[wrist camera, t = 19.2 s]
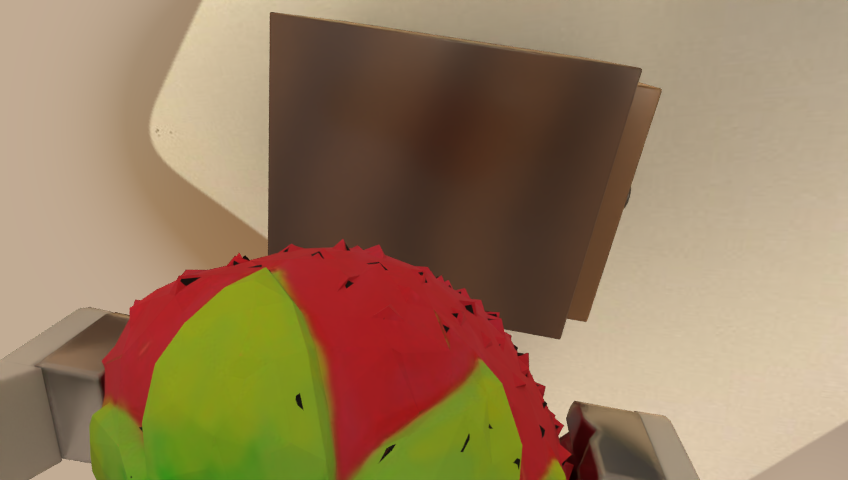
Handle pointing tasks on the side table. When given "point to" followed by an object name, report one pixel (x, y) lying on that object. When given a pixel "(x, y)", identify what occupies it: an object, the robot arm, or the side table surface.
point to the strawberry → (320, 379)
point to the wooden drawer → (614, 198)
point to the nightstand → (444, 157)
